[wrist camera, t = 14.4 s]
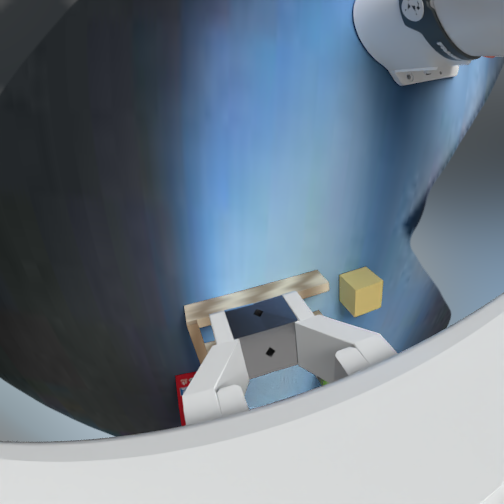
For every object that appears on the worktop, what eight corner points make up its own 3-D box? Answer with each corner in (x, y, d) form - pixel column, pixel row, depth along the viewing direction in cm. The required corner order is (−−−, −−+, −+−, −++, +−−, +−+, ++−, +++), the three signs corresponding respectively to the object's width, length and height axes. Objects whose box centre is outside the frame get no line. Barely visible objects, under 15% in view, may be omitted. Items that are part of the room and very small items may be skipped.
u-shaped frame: (316, 269, 46) (331, 285, 42) (319, 316, 50) (331, 333, 46) (183, 305, 43) (186, 325, 39) (199, 351, 47) (203, 372, 43)
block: (365, 266, 49) (383, 280, 44) (364, 291, 51) (380, 307, 46) (339, 274, 48) (355, 290, 43) (339, 300, 50) (354, 317, 46)
